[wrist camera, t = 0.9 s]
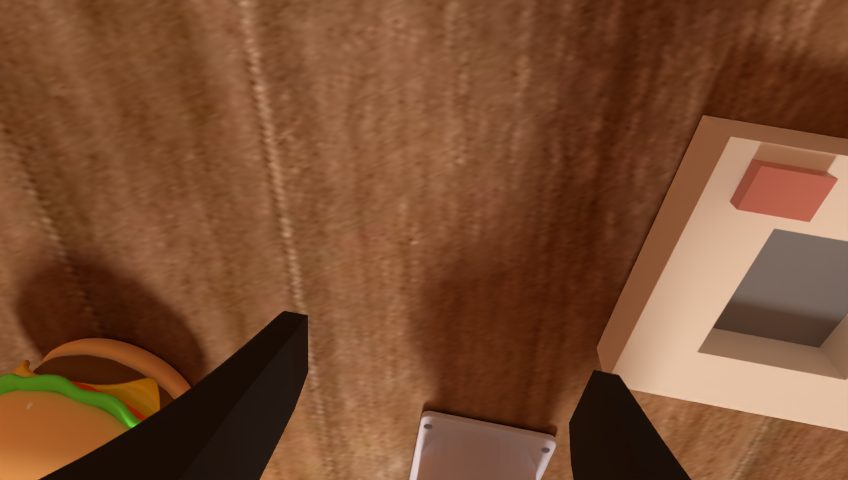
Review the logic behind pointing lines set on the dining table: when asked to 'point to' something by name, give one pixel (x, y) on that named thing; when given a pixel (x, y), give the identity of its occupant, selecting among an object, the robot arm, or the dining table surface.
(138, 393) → the hamburger
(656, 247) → the socket
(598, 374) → the robot arm
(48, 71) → the dining table surface
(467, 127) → the dining table surface
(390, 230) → the dining table surface
